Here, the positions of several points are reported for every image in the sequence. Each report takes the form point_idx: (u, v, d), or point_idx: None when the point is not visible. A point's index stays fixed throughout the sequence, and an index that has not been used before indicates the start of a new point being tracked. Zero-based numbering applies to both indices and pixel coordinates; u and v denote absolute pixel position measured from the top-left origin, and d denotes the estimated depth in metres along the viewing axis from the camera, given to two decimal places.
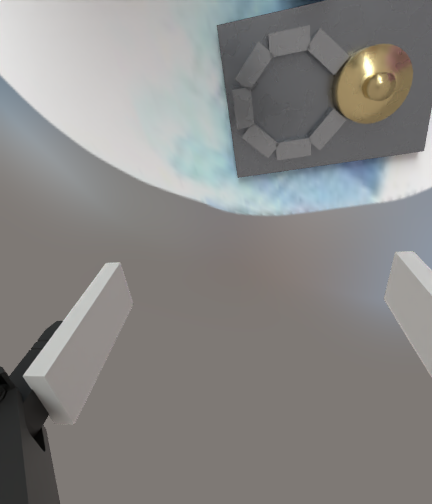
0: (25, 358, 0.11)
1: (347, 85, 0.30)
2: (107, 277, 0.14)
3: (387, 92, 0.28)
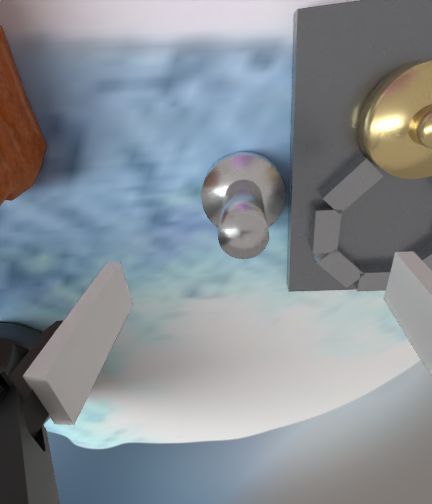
0: (25, 358, 0.11)
1: (410, 166, 0.20)
2: (107, 277, 0.14)
3: None
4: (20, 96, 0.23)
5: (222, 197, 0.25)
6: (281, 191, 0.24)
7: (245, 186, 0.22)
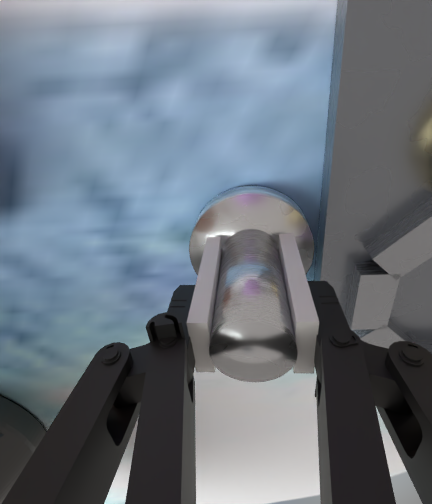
0: None
1: None
2: (215, 248, 0.15)
3: None
4: None
5: None
6: (308, 246, 0.16)
7: (254, 244, 0.14)
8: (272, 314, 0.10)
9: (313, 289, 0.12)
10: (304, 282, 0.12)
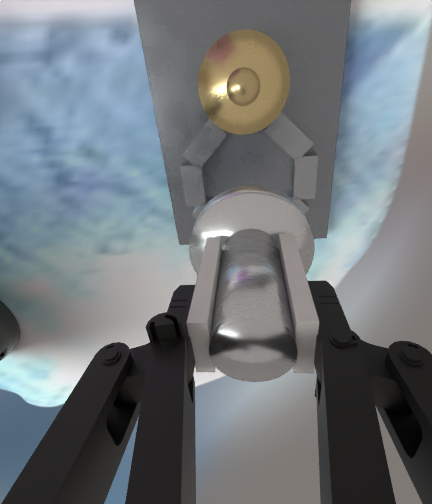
0: None
1: (238, 123, 0.24)
2: (215, 248, 0.15)
3: (250, 78, 0.21)
4: None
5: None
6: (308, 245, 0.16)
7: (254, 244, 0.14)
8: (272, 314, 0.10)
9: (313, 289, 0.12)
10: (304, 282, 0.12)
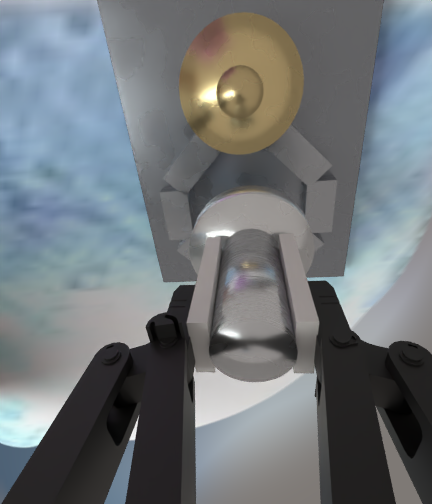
0: None
1: (234, 140, 0.18)
2: (215, 248, 0.15)
3: (250, 80, 0.15)
4: None
5: None
6: (308, 245, 0.16)
7: (254, 244, 0.14)
8: (272, 314, 0.10)
9: (313, 289, 0.12)
10: (304, 282, 0.12)
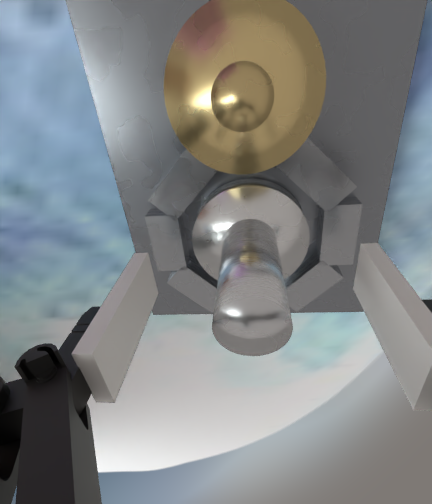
0: (67, 340, 0.11)
1: (235, 157, 0.14)
2: (137, 265, 0.14)
3: (256, 81, 0.11)
4: None
5: (221, 241, 0.18)
6: (304, 234, 0.17)
7: (253, 232, 0.15)
8: (269, 292, 0.12)
9: None
10: (420, 303, 0.10)
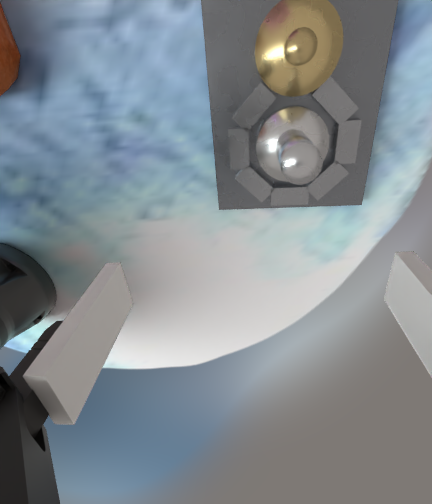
0: (25, 358, 0.11)
1: (290, 85, 0.26)
2: (107, 277, 0.14)
3: (309, 37, 0.22)
4: None
5: (274, 146, 0.29)
6: (326, 139, 0.28)
7: (297, 132, 0.27)
8: (311, 143, 0.23)
9: None
10: None
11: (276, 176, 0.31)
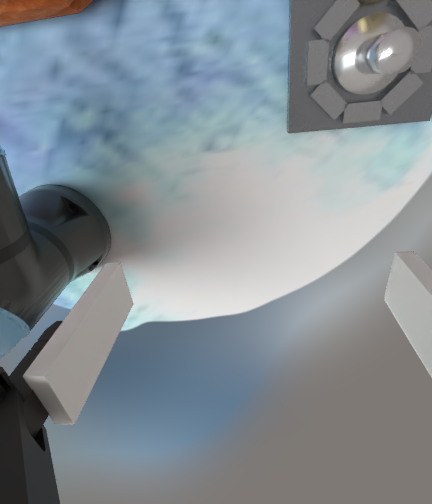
0: (25, 358, 0.11)
1: None
2: (107, 277, 0.14)
3: None
4: None
5: (353, 56, 0.30)
6: None
7: None
8: None
9: None
10: None
11: (353, 89, 0.32)
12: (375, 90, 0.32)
